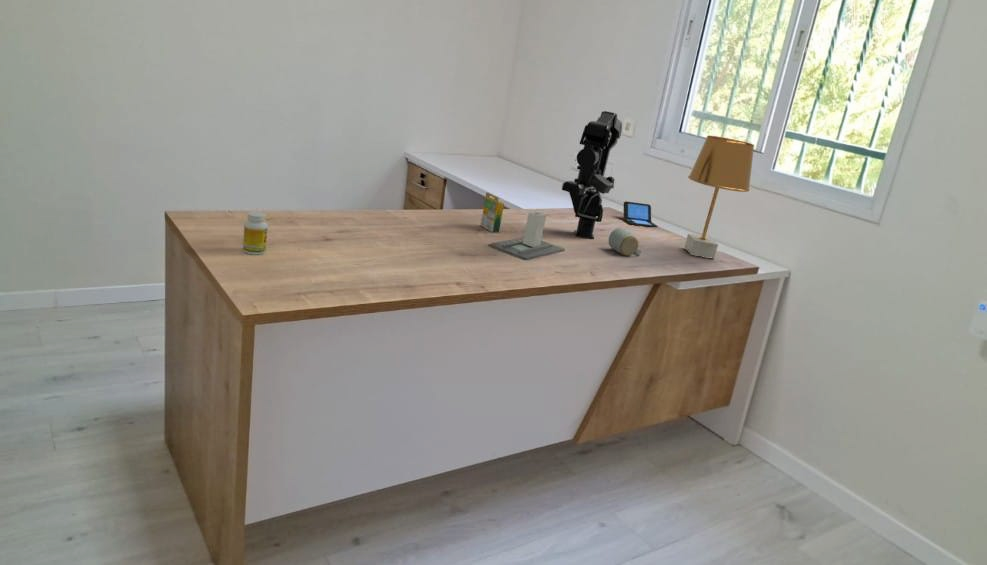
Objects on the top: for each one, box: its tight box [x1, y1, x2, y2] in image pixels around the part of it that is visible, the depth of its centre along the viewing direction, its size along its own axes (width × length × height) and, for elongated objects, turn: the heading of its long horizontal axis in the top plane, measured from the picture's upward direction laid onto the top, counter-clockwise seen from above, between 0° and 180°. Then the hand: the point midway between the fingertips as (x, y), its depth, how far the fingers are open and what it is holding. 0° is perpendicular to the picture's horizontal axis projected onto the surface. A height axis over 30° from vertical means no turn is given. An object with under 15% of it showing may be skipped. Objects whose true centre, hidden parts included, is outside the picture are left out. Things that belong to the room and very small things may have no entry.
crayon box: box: [480, 191, 505, 233], centre depth 227 cm, size 7×3×12 cm, turn 34°
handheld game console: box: [622, 201, 659, 228], centre depth 278 cm, size 12×11×7 cm
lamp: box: [684, 135, 755, 259], centre depth 240 cm, size 21×21×41 cm
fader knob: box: [523, 211, 547, 247], centre depth 214 cm, size 4×4×10 cm
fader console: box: [487, 236, 566, 261], centre depth 214 cm, size 22×14×1 cm, turn 143°
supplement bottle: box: [242, 211, 268, 256], centre depth 167 cm, size 5×5×10 cm
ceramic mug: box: [608, 227, 642, 257], centre depth 229 cm, size 11×8×8 cm
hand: (579, 213), depth 219 cm, fingers open, 4 cm apart
